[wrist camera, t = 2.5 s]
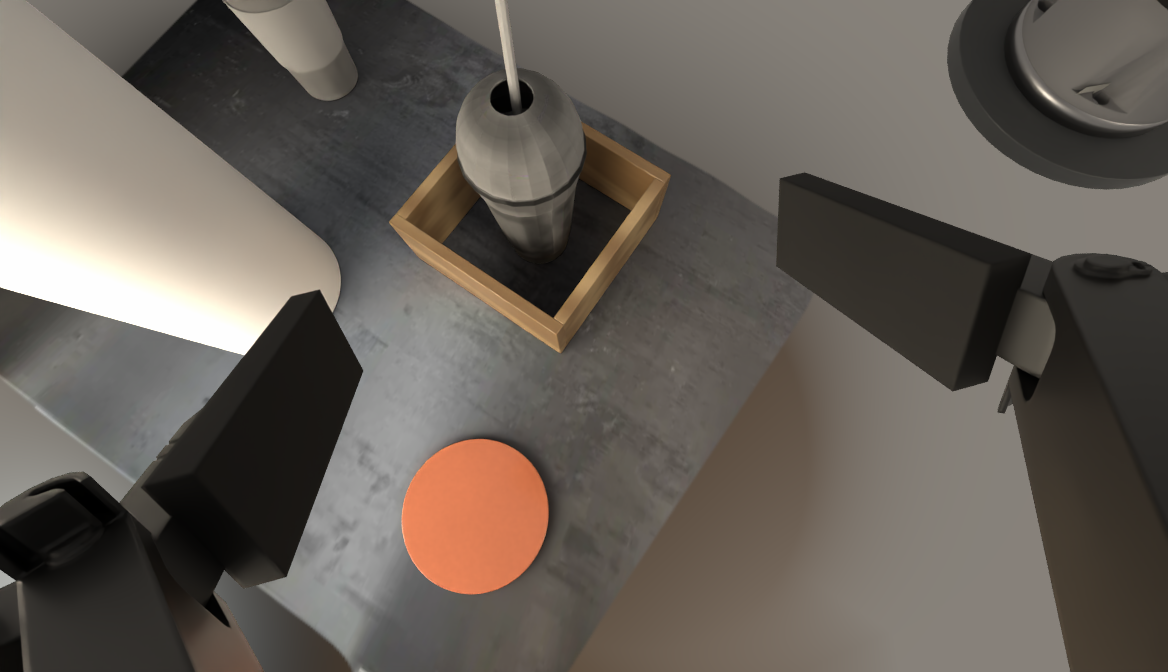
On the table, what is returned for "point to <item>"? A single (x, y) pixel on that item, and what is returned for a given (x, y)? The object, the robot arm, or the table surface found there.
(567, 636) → the table surface
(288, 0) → the cup
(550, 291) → the table surface
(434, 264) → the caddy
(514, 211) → the beverage cup
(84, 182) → the tall pillar cylinder
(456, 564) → the coaster
